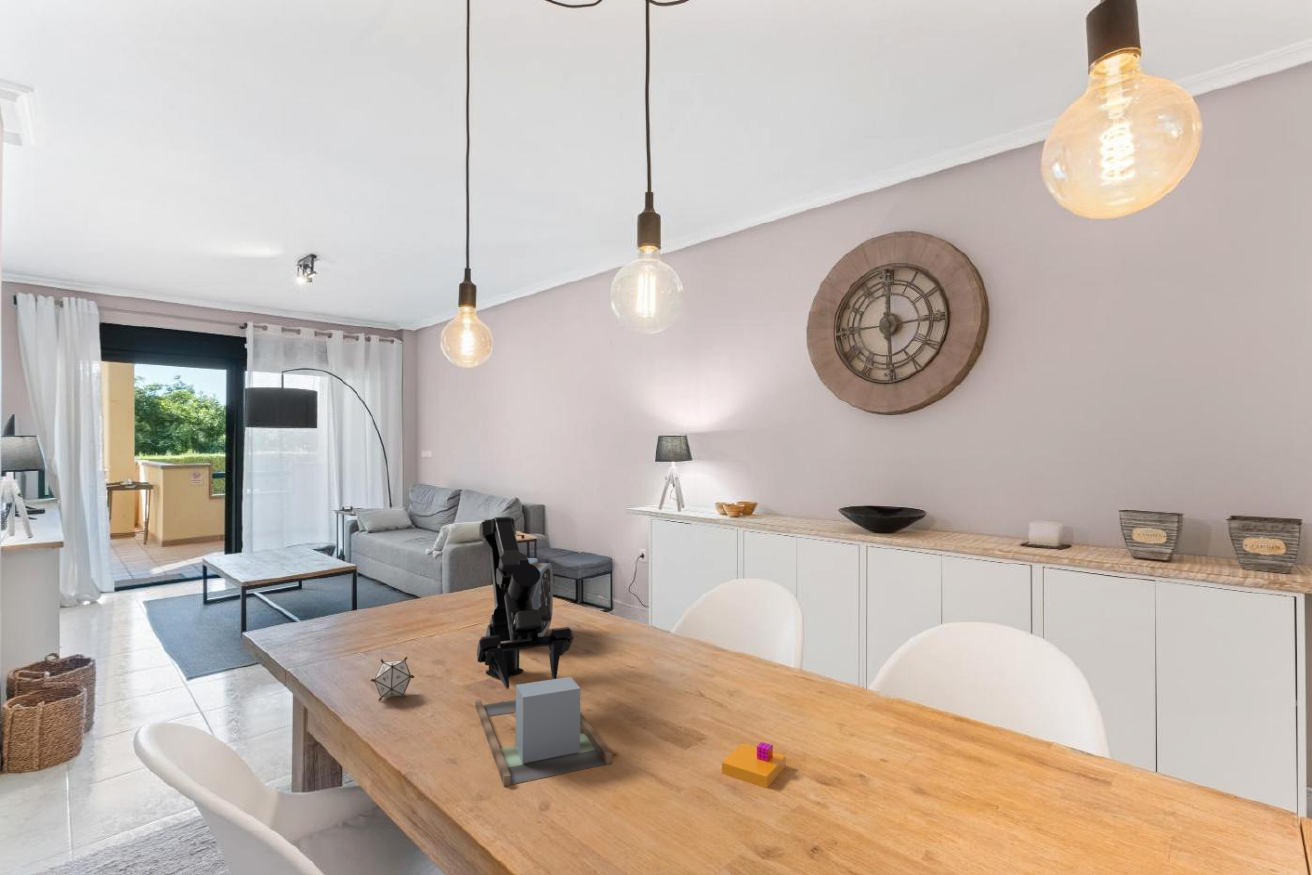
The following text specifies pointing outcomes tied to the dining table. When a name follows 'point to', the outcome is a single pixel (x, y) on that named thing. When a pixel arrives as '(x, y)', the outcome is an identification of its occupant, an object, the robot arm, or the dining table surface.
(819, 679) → the dining table surface
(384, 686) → the game die
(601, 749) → the channel
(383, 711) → the dining table surface
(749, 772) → the flat orange slab
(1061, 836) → the dining table surface
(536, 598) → the alarm clock
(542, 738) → the slate block
